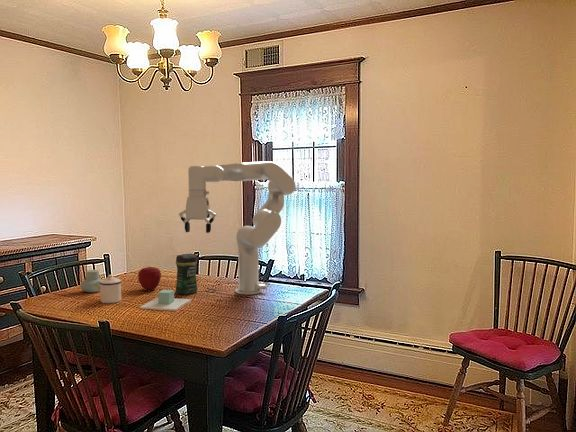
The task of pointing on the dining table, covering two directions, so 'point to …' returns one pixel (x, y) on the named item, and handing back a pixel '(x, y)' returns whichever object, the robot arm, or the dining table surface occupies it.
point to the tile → (171, 307)
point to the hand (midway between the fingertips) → (197, 232)
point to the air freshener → (91, 281)
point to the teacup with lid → (110, 290)
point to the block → (166, 297)
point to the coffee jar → (186, 274)
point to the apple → (149, 277)
